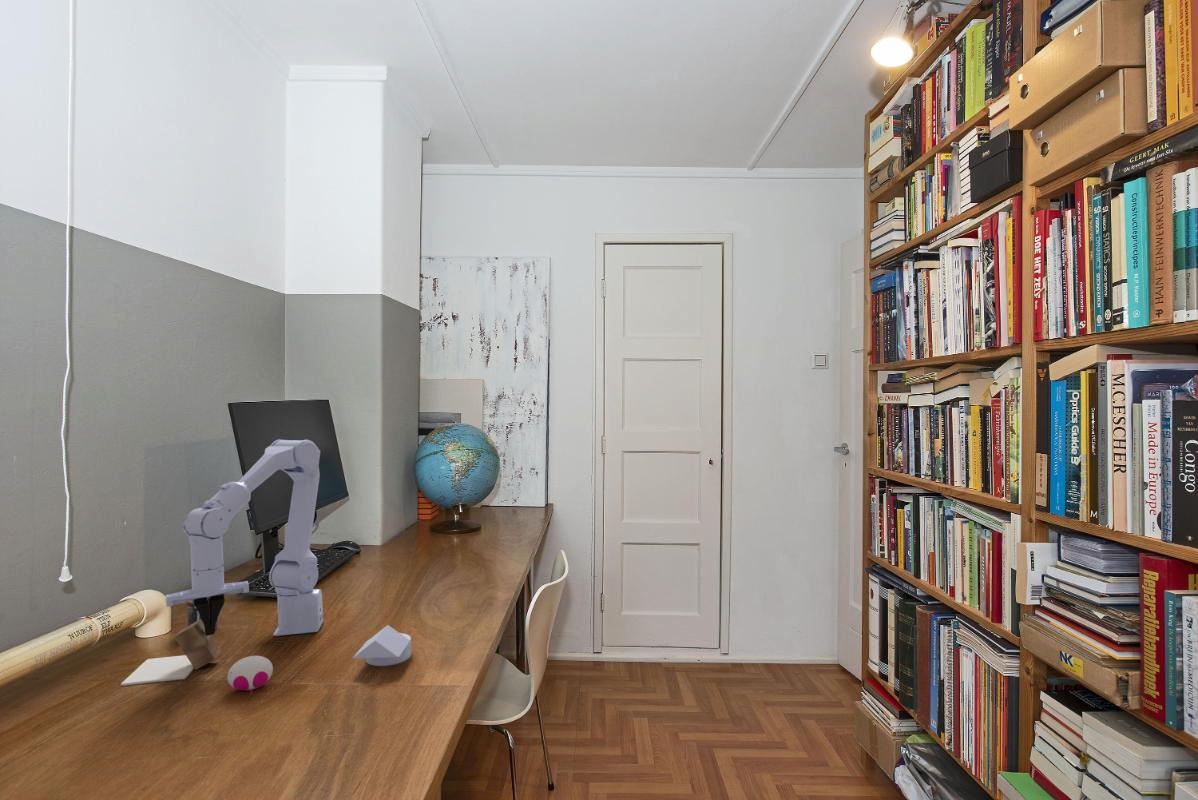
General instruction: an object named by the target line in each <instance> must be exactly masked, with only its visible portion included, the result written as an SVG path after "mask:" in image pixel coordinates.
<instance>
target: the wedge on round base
mask: <svg viewBox="0 0 1198 800" xmlns="http://www.w3.org/2000/svg"><path fill="white" fill-rule="evenodd" d="M411 656H412V638H411V635H408V634H407V633H403V632H399V631H397V630H396V629H394V628H393V627H392V626H390V625H389V624H387V625H386V626H385V627H383V628H382V629H381V630H379V631H377V633H376V634H375V635H373V636H372V637H371V638H369V639H368V640H367V641H365V642H364V644H363V645H362V646H361V647H360V649H359V650H358V651H357V652H356V653H355V654H354V656H352V659H365V663H367V664H368V665H370V666H376V667H385V666H392V665H398V664H401V663H402V662H405V661H407V660H408V659H409V658H411Z"/></svg>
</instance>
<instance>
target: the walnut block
mask: <svg viewBox="0 0 1198 800" xmlns="http://www.w3.org/2000/svg"><path fill="white" fill-rule="evenodd" d="M174 639H175V641H176V642H177V644H178V645H179V648H180V649H181V650H182V652H183V653H184V655H186V656H187V658H188V659H189V661H190V663H191V664H192V666H193V667H194V669H193V670H195V671H196V670H199V669H200V668H202V667H203V666H206V665H207V664H209V663H211V662H213V661H215V660H216V658H218V656H219V655H221V653H222V651H221V649H220V648H219V646H218V644H217V643H216V642H215V639H214V638H213V637H212V635H208V636H206V633H205V627H204V624H203V622H202V621H201V619H200V620H198V621H197V622H195V623H193V624H191V625H189V626H188V625H187V626H185V627H184V628H183V629H181V630H179V632H178V633H177V634H175V636H174Z"/></svg>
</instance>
